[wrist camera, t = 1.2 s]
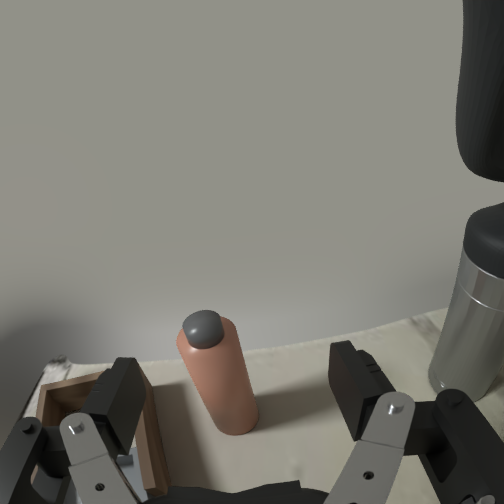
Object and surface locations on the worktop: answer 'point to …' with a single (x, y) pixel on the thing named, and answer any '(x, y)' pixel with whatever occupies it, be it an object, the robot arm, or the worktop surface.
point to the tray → (131, 472)
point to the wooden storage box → (147, 432)
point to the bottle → (218, 371)
